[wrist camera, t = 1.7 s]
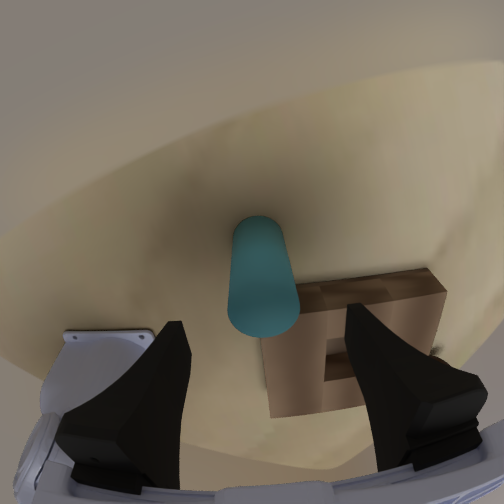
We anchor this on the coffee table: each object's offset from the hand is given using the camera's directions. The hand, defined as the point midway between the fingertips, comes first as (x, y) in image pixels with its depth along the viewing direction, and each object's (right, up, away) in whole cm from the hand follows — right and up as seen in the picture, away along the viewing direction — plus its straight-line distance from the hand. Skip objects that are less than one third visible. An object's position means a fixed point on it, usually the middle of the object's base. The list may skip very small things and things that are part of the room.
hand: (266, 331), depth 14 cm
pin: (0, +4, +8) cm, 10 cm away
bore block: (+7, -4, +13) cm, 15 cm away
